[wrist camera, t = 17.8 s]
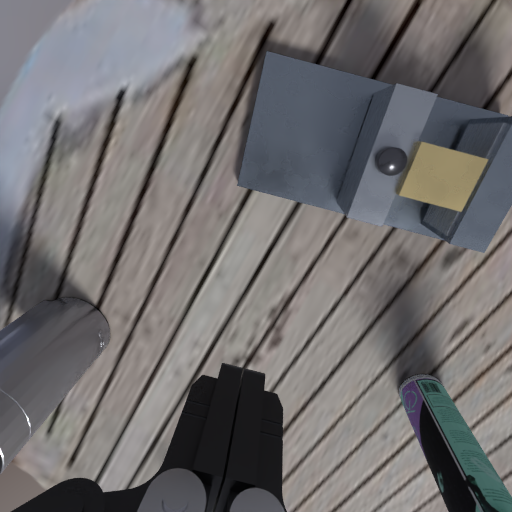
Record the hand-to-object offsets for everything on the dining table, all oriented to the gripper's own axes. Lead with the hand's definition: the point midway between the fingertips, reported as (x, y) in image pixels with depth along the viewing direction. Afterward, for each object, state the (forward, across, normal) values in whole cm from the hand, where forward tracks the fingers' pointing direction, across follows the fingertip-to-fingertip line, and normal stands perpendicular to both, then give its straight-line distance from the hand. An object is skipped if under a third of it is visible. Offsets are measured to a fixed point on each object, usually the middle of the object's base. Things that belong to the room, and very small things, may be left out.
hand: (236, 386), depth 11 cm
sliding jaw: (+24, -8, -8) cm, 26 cm away
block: (+24, -12, -8) cm, 28 cm away
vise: (+25, -7, -8) cm, 27 cm away
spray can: (+25, -25, +18) cm, 40 cm away
